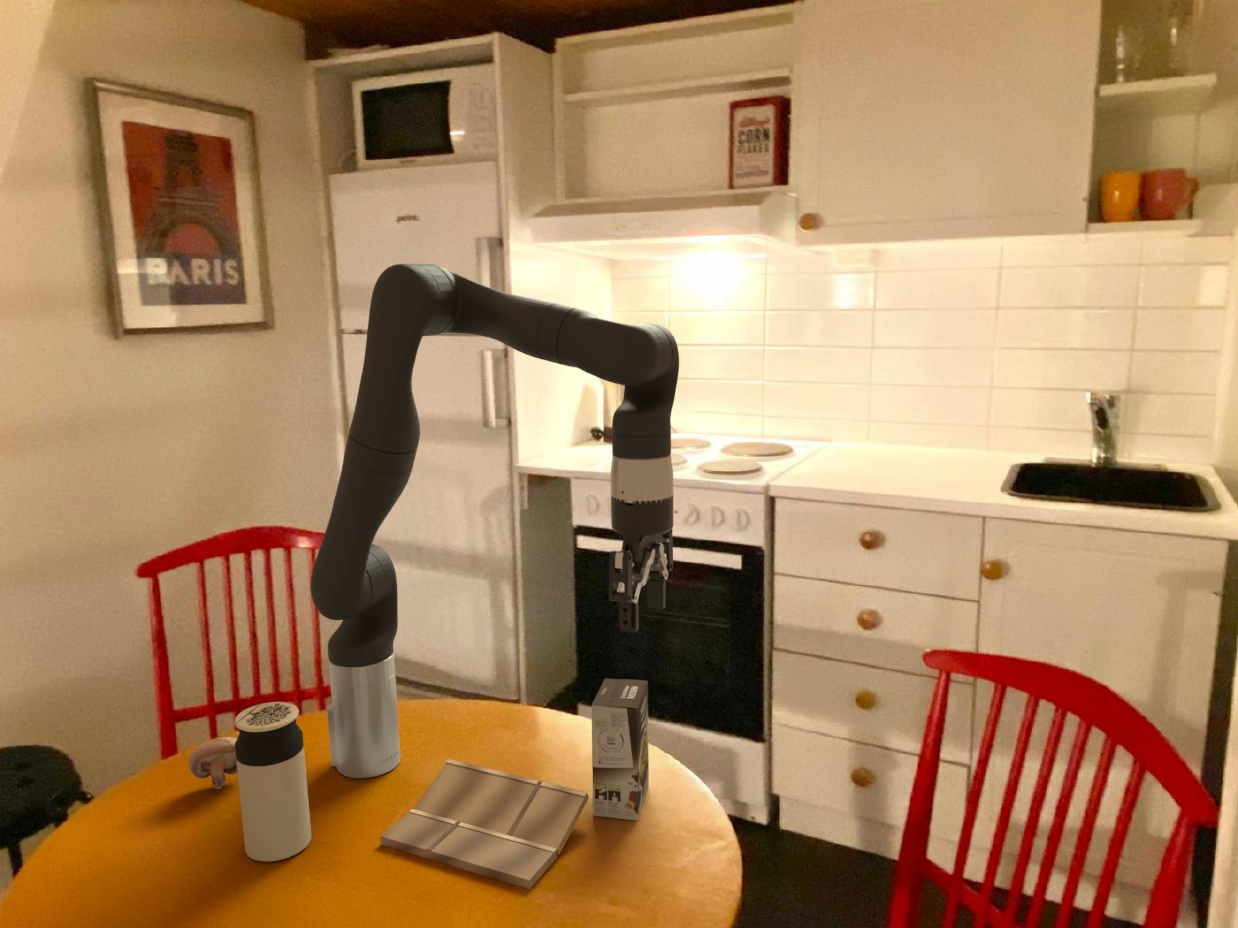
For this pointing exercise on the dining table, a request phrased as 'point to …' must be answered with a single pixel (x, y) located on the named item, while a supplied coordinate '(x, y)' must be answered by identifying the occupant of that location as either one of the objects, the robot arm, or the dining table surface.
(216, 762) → the mushroom
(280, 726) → the travel mug
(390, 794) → the dining table surface
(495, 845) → the laid plank
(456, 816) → the board
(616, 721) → the coffee box
